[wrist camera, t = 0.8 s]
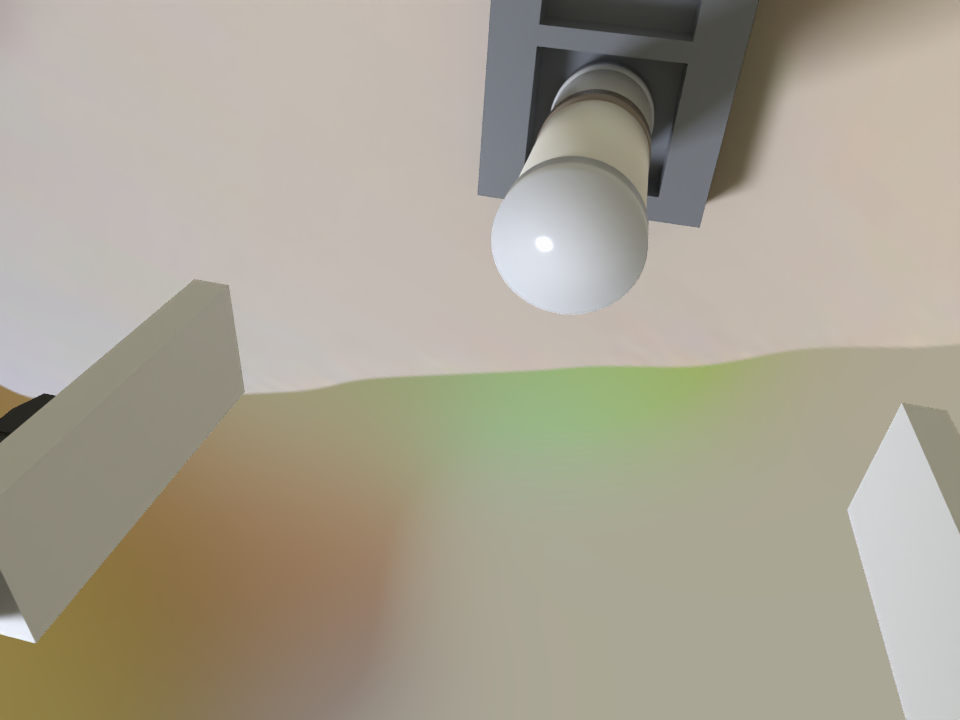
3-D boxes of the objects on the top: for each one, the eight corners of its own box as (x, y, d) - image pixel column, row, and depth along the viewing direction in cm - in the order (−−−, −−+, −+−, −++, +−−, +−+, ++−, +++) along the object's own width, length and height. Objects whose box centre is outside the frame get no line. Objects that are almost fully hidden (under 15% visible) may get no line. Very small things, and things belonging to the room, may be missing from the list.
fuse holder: (488, 177, 35) (477, 195, 33) (515, -184, 27) (503, -189, 25) (697, 207, 33) (699, 227, 32) (791, -164, 26) (802, -167, 24)
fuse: (547, 156, 33) (485, 301, 22) (560, 54, 31) (497, 159, 19) (643, 169, 33) (631, 325, 21) (664, 67, 30) (662, 182, 19)
